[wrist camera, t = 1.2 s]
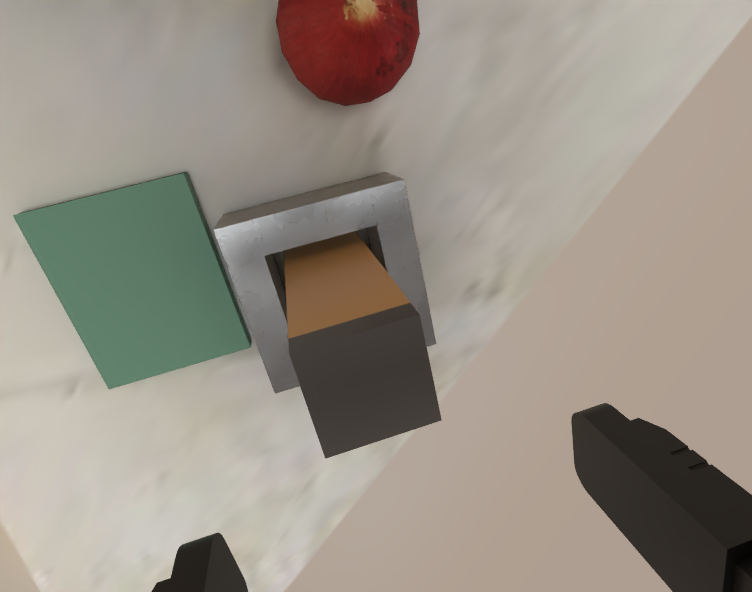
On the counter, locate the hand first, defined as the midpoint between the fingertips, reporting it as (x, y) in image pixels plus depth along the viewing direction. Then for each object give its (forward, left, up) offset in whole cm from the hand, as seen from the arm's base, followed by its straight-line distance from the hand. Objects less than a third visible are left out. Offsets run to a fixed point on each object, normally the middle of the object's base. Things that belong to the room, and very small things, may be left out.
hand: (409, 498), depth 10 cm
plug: (0, 0, -17) cm, 17 cm away
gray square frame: (0, 0, -17) cm, 17 cm away
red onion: (-11, +3, -18) cm, 21 cm away
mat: (-2, -10, -17) cm, 20 cm away
